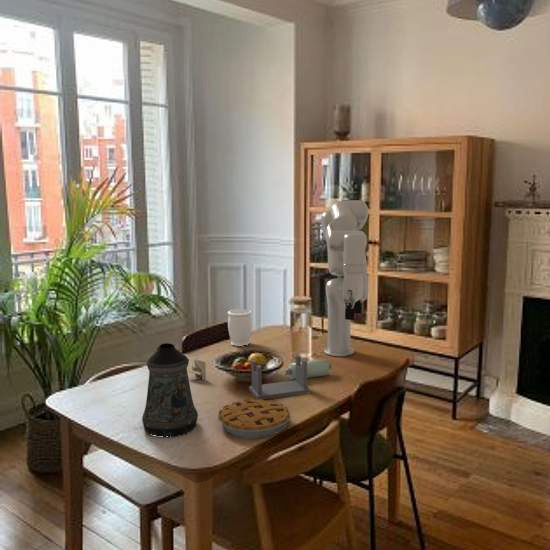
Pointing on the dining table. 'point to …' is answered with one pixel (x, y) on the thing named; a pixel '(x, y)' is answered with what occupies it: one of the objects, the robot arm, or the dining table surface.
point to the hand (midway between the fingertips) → (353, 316)
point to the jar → (239, 326)
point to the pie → (254, 418)
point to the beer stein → (169, 394)
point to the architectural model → (199, 369)
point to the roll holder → (280, 387)
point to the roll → (311, 369)
